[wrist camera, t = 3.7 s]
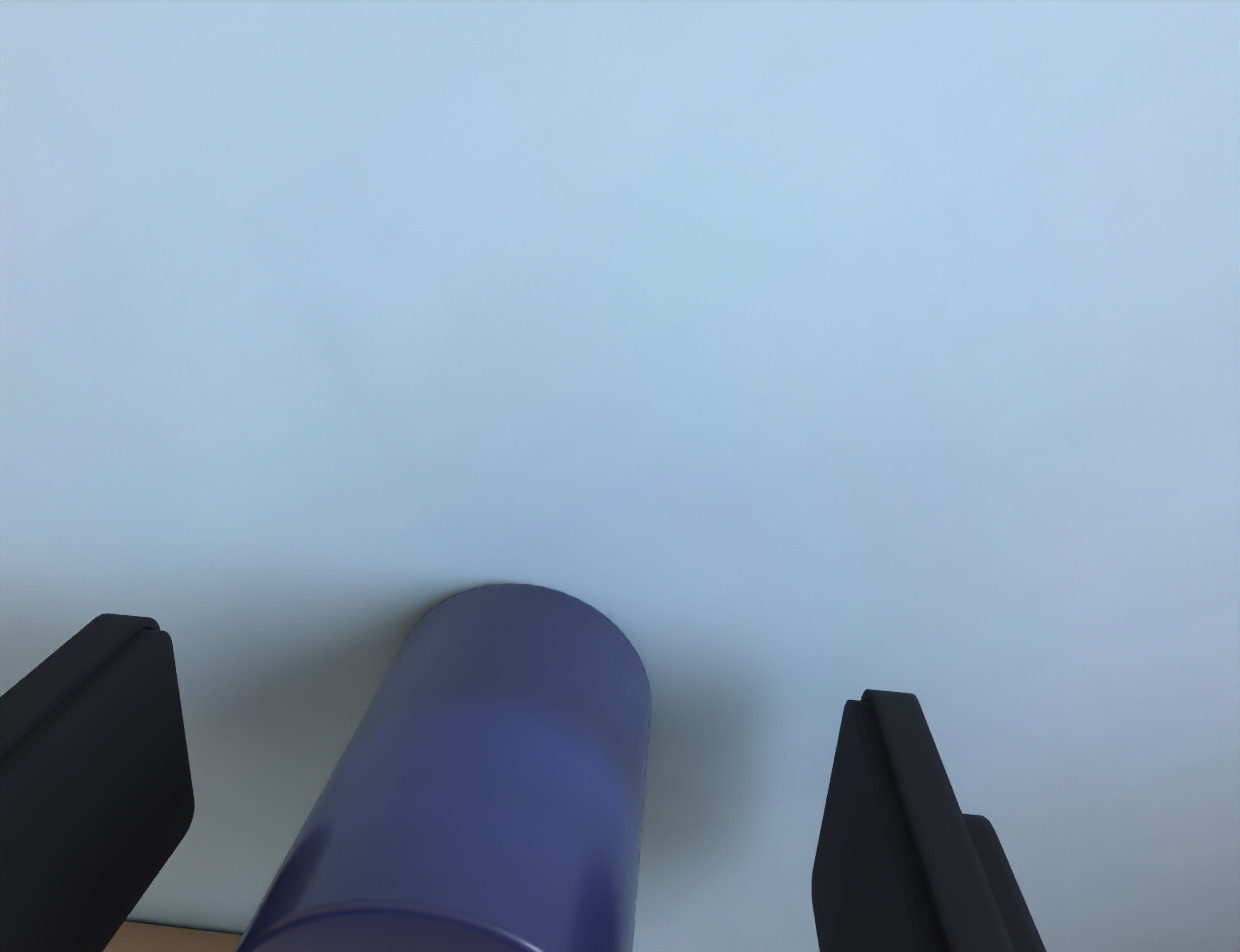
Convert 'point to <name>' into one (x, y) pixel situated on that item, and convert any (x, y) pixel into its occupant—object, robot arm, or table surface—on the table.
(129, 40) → the table surface
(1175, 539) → the table surface
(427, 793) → the eye peg
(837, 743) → the robot arm
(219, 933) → the face board
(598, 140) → the table surface
